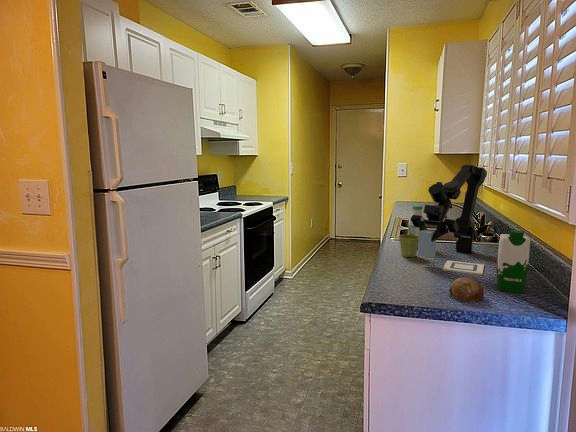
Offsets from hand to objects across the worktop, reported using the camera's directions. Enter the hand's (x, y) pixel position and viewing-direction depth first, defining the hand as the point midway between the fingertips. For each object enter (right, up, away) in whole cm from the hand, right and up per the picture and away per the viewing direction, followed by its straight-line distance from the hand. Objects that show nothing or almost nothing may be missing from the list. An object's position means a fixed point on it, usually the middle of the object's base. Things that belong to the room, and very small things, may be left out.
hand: (425, 239), depth 165 cm
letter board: (+14, -11, -2) cm, 18 cm away
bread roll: (+2, -16, -34) cm, 38 cm away
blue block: (+1, -6, +2) cm, 7 cm away
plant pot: (-2, -8, +17) cm, 19 cm away
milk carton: (+19, -15, -27) cm, 36 cm away
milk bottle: (+7, -5, +35) cm, 36 cm away
